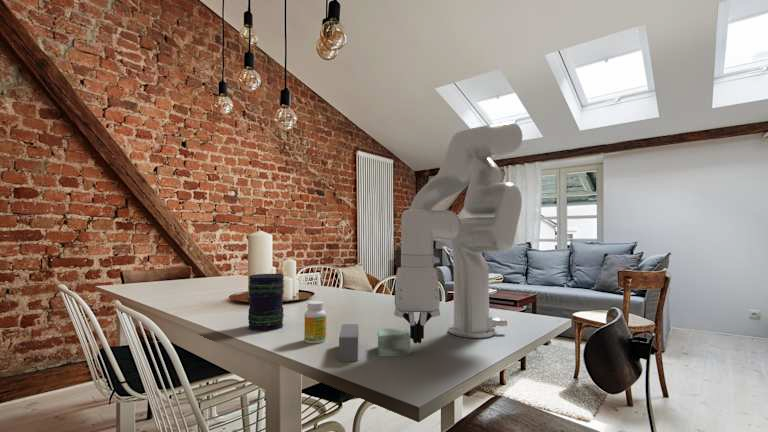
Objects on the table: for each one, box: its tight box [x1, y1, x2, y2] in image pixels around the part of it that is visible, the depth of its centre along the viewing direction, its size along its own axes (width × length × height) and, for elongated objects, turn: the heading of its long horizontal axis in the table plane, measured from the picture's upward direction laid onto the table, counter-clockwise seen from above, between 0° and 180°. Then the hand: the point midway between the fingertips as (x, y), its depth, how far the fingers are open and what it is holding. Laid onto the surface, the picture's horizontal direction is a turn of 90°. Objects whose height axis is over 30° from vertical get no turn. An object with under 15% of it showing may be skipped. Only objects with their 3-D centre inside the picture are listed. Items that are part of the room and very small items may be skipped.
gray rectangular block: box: [338, 323, 359, 362], centre depth 90 cm, size 4×12×5 cm, turn 3°
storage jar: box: [247, 273, 285, 332], centre depth 113 cm, size 10×10×15 cm
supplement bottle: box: [303, 300, 327, 344], centre depth 99 cm, size 5×5×10 cm
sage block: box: [377, 328, 411, 357], centre depth 91 cm, size 7×7×4 cm
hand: (416, 341), depth 90 cm, fingers closed
